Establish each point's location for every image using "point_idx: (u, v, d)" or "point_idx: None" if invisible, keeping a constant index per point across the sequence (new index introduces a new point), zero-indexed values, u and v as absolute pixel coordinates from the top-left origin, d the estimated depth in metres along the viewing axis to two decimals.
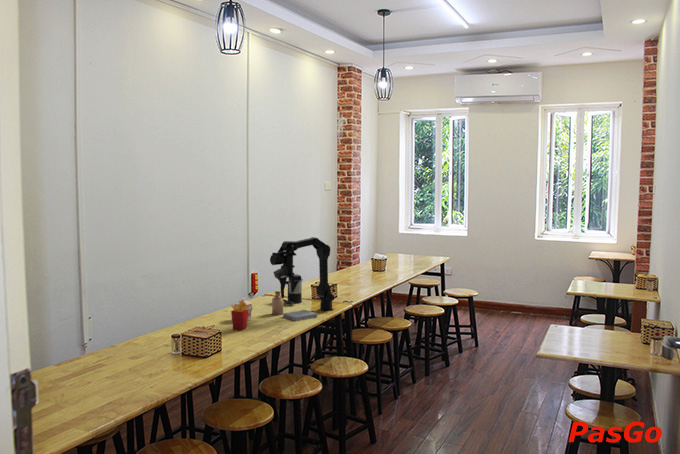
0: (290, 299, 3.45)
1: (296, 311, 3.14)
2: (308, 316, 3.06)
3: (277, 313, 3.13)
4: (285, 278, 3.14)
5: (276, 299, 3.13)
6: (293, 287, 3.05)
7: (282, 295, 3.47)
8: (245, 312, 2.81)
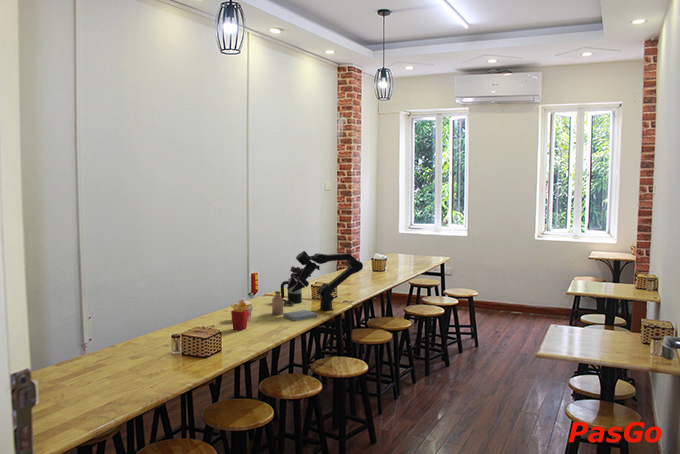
0: (290, 299, 3.45)
1: (296, 311, 3.14)
2: (308, 316, 3.06)
3: (277, 313, 3.13)
4: (296, 282, 3.25)
5: (276, 299, 3.13)
6: (296, 288, 3.14)
7: (282, 295, 3.47)
8: (245, 312, 2.81)
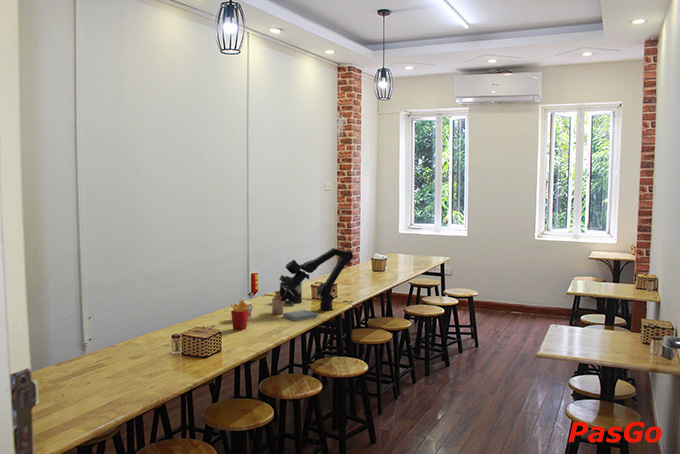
0: (290, 299, 3.45)
1: (296, 311, 3.14)
2: (308, 316, 3.06)
3: (277, 313, 3.13)
4: (285, 291, 3.23)
5: (276, 299, 3.13)
6: (285, 297, 3.12)
7: (282, 295, 3.47)
8: (245, 312, 2.81)
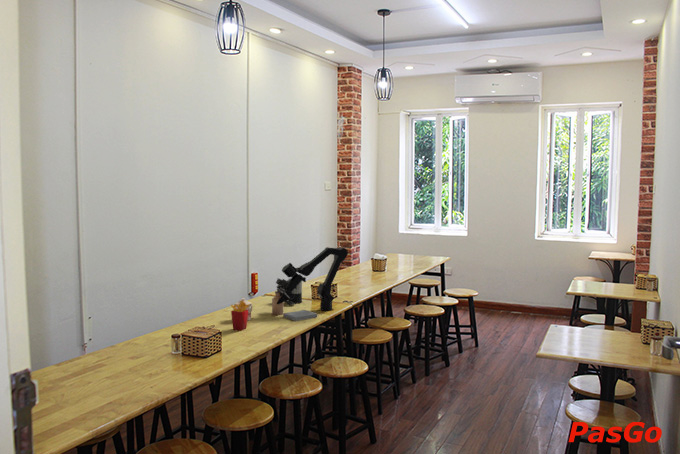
0: (290, 299, 3.45)
1: (296, 311, 3.14)
2: (308, 316, 3.06)
3: (277, 313, 3.13)
4: None
5: (276, 299, 3.13)
6: (281, 300, 3.12)
7: None
8: (245, 312, 2.81)
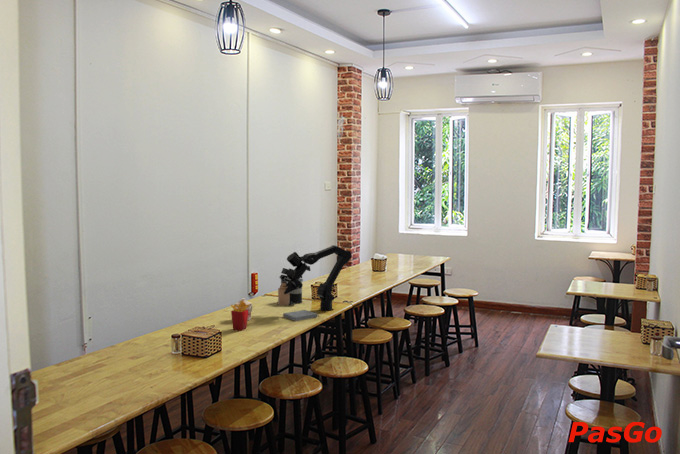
0: (290, 299, 3.45)
1: (296, 311, 3.14)
2: (308, 316, 3.06)
3: (284, 303, 3.09)
4: (287, 285, 3.17)
5: (283, 289, 3.09)
6: (288, 290, 3.08)
7: None
8: (245, 312, 2.81)
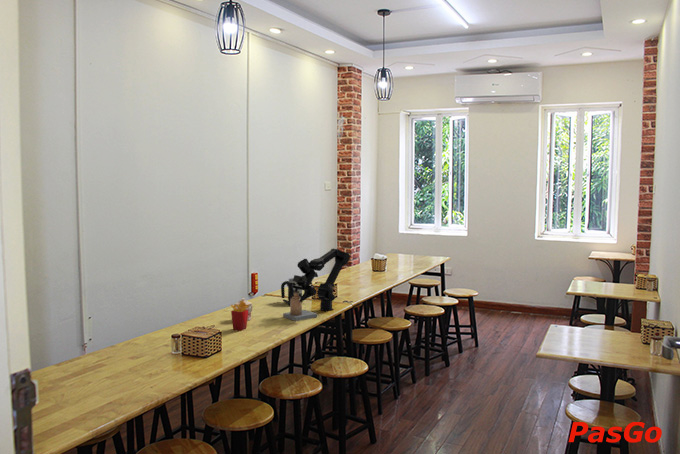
0: None
1: None
2: (308, 316, 3.06)
3: (298, 313, 3.05)
4: None
5: (297, 299, 3.05)
6: (304, 297, 3.04)
7: (282, 295, 3.47)
8: (245, 312, 2.81)
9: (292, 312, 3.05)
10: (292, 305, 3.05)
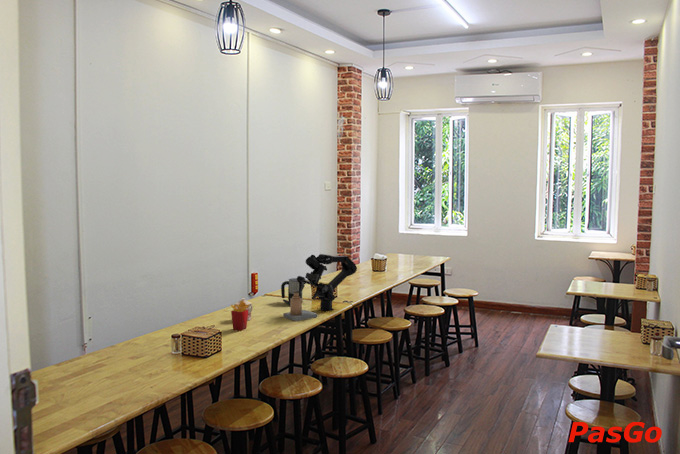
0: None
1: None
2: (308, 316, 3.06)
3: (298, 313, 3.05)
4: (303, 286, 3.20)
5: (297, 299, 3.05)
6: (316, 295, 3.13)
7: (283, 295, 3.46)
8: (245, 312, 2.81)
9: (292, 312, 3.05)
10: (292, 305, 3.05)
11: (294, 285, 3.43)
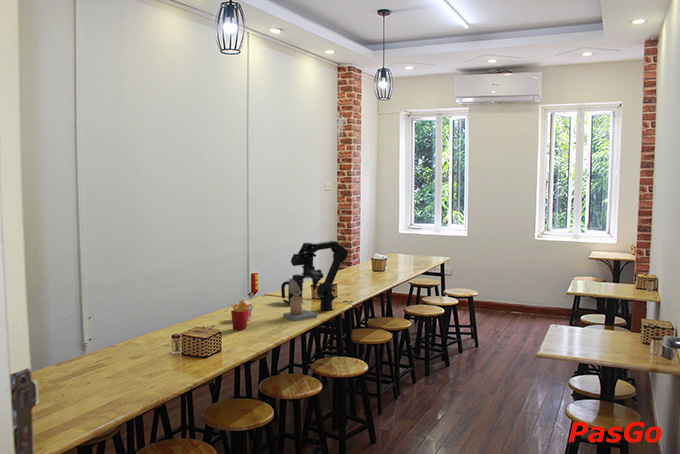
0: None
1: None
2: (308, 316, 3.06)
3: (298, 313, 3.05)
4: None
5: (297, 299, 3.05)
6: None
7: (283, 295, 3.46)
8: (245, 312, 2.81)
9: (292, 312, 3.05)
10: (292, 305, 3.05)
11: (294, 285, 3.43)
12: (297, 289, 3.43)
